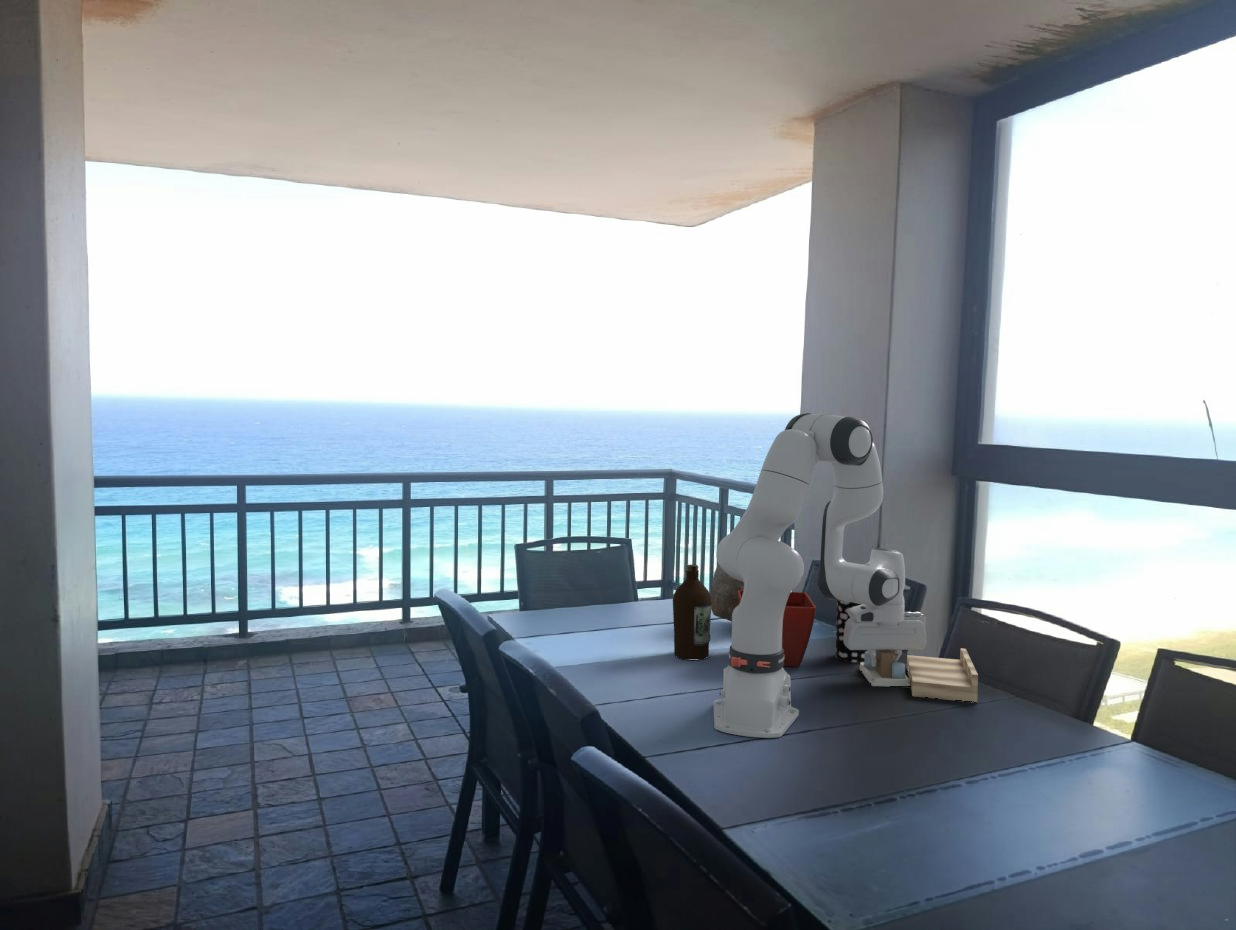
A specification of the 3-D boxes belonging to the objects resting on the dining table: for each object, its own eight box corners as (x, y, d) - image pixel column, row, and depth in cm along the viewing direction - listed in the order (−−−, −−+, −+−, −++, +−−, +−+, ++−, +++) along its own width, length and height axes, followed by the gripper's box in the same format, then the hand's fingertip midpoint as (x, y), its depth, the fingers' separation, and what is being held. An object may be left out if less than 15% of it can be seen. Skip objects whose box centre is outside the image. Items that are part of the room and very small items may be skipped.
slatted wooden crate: (977, 702, 179) (978, 675, 179) (912, 696, 184) (913, 668, 183) (964, 673, 200) (965, 648, 200) (906, 668, 205) (907, 643, 204)
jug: (697, 621, 251) (698, 529, 250) (757, 617, 258) (758, 526, 256) (730, 641, 228) (732, 540, 226) (795, 636, 234) (797, 537, 233)
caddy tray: (909, 687, 190) (910, 658, 190) (872, 685, 191) (872, 657, 190) (894, 670, 203) (895, 643, 203) (859, 669, 204) (860, 642, 203)
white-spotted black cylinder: (863, 653, 217) (865, 582, 216) (870, 663, 209) (872, 589, 208) (833, 652, 218) (834, 581, 217) (838, 661, 210) (840, 588, 209)
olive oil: (664, 655, 215) (665, 565, 213) (689, 647, 222) (690, 560, 221) (693, 663, 207) (694, 570, 206) (718, 655, 214) (720, 565, 213)
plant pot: (805, 650, 220) (806, 591, 219) (815, 671, 201) (816, 607, 200) (736, 648, 222) (737, 589, 221) (740, 669, 203) (741, 605, 202)
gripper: (920, 608, 199) (919, 662, 200) (841, 609, 199) (840, 662, 199) (931, 615, 193) (930, 669, 194) (850, 615, 192) (849, 670, 193)
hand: (884, 666), depth 197 cm, fingers closed on caddy tray, 3 cm apart
